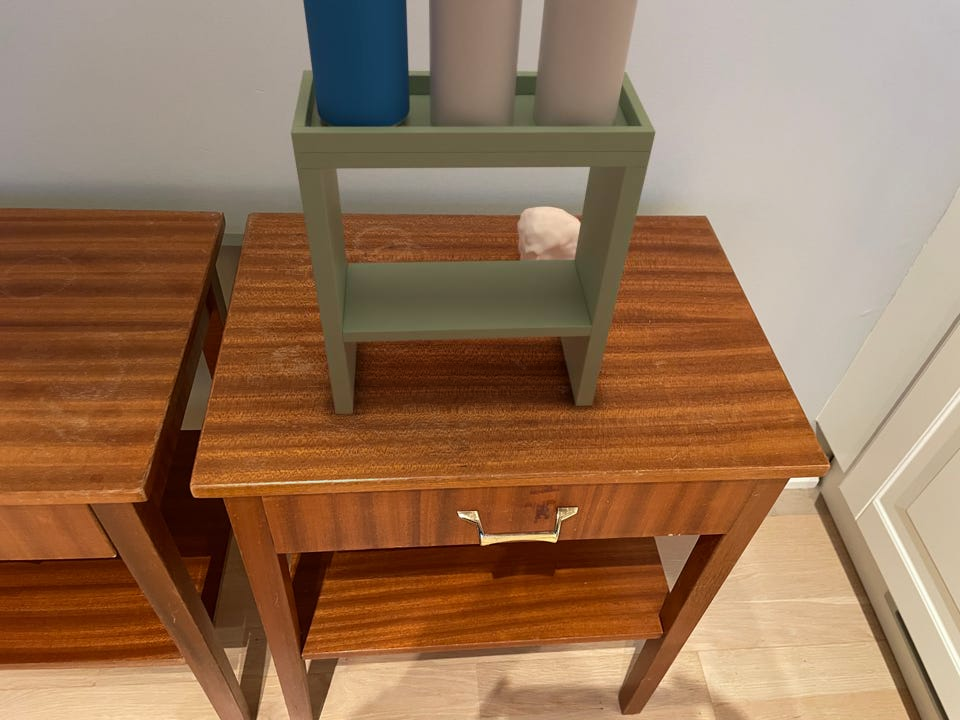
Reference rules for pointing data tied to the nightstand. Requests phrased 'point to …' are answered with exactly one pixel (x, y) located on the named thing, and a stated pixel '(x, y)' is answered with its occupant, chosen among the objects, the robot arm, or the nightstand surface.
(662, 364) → the nightstand surface
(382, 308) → the shelf stand
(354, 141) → the can shelf
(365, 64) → the beverage can
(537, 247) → the pale pink lump
